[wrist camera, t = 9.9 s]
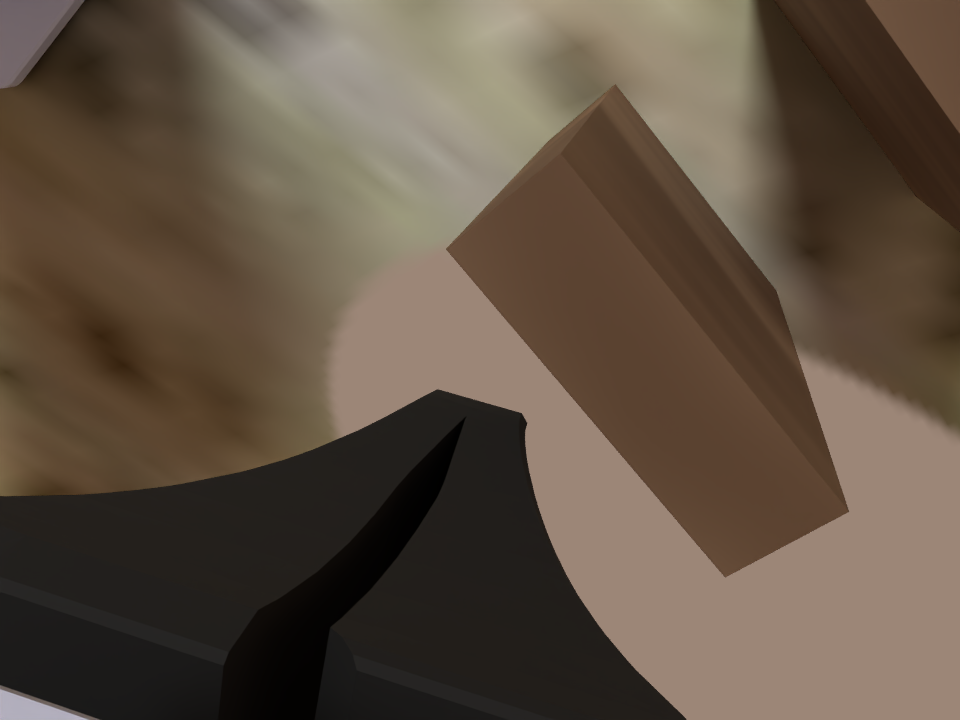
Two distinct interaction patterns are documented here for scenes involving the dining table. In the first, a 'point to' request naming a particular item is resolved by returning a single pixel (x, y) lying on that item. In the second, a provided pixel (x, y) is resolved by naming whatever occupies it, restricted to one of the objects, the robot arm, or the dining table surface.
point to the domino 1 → (659, 332)
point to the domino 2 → (896, 82)
